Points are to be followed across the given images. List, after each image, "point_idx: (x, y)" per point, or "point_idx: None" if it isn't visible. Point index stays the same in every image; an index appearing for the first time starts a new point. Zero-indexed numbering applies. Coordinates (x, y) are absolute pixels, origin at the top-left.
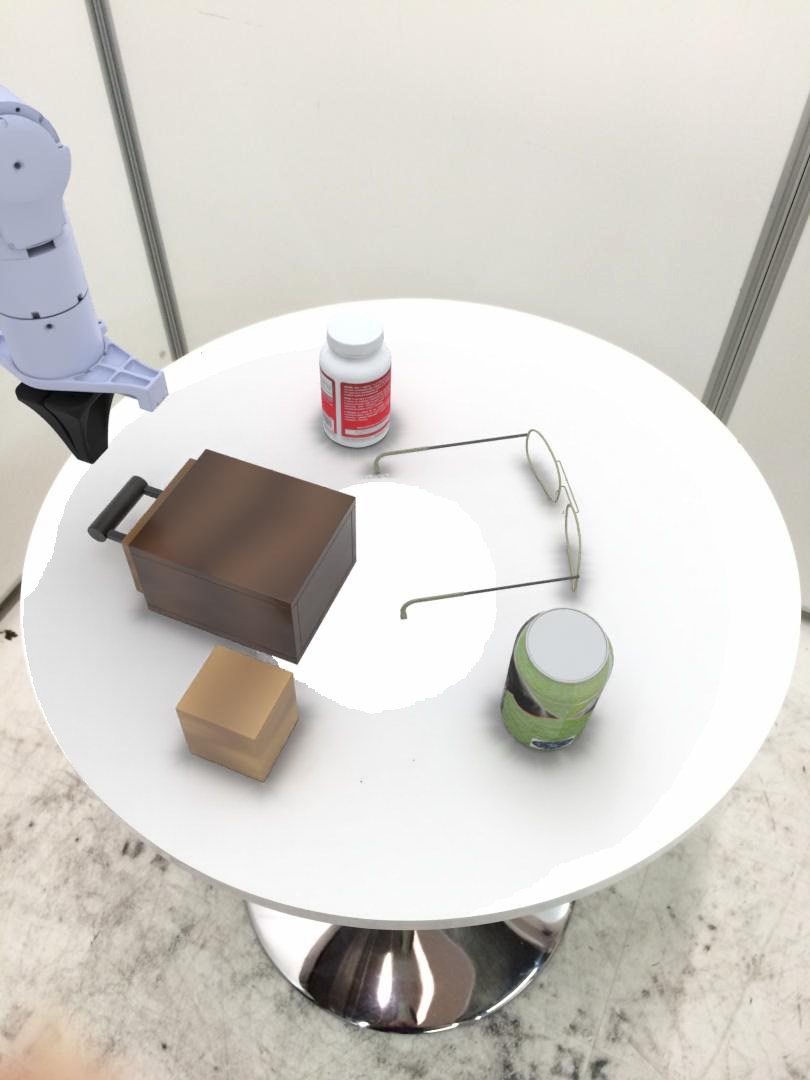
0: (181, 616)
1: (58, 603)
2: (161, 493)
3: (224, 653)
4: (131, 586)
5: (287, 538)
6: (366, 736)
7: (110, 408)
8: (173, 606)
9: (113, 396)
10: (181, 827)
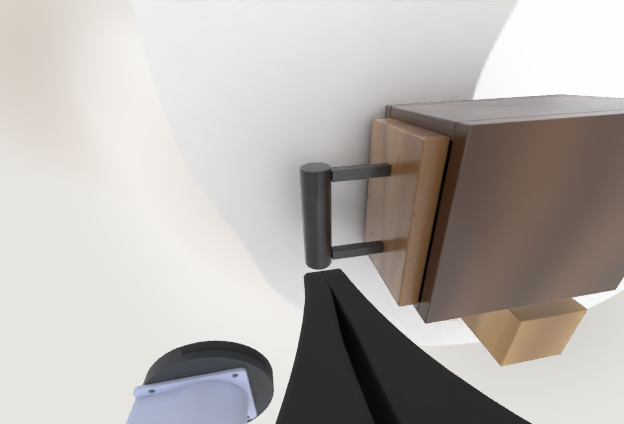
0: None
1: (294, 279)
2: (411, 227)
3: (529, 324)
4: (345, 235)
5: (618, 225)
6: None
7: (410, 340)
8: None
9: (453, 374)
10: (463, 336)
